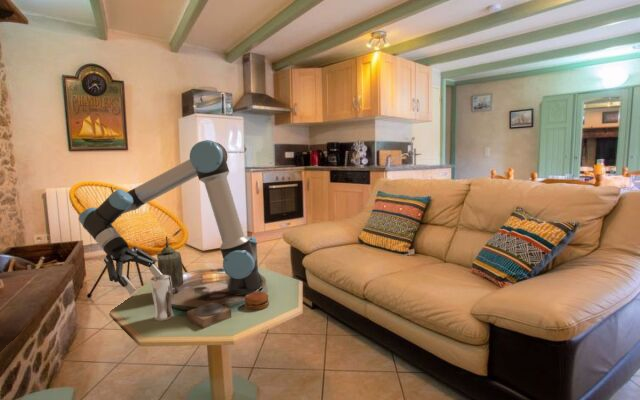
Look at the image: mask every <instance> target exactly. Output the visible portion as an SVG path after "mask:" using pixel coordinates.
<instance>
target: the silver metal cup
mask: <svg viewBox="0 0 640 400" xmlns="http://www.w3.org/2000/svg"><path fill="white" fill-rule="evenodd" d="M150 289H151V290H150V291H151V297H152V300H153V304H154V307H155V316H154V320H155V321H158V322H164V321H168V320H170V319H172V318H173V317H174V311H173V309H172V301H173V288H172V281H171V276H170V275H158V276H153V277H151V278H150Z"/></svg>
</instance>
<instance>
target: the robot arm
mask: <svg viewBox="0 0 640 400" xmlns="http://www.w3.org/2000/svg"><path fill="white" fill-rule="evenodd" d="M227 161H228V153H227V150H226V148H225V147H224V146H223V145H222V144H221V143H218V142H216V141H213V140H211V139H209V140H207V139H205V140H201V141H198V142H197V143H195V144H194V145H193V146H192V147H191V148H190V152H189V159H187V160H185V161H183V162H181V163H180V164H178V165H176V166H174V167H172V168H170V169H168V170H167V171H164V172H162V173H161V174H159V175H157V176H155V177H152V178H151V179H149V180H147V181H146V182H144V183H142V184H140V185H138V186H136V187H134V188H132V189H130V190H128V191H125V190H123V189H120V188H119V189H116V190H114V191H113V192H112V193H111V194H109V195H108V197H107V198H106V199H105V200H104V201H103V202H102V203H101V204H100V205H99V206H98V207H95V206H93V207H88V208H87V209H85V210H83V211H82V212H81V213H80V214H79V216H78V221H79V222H80V224H81V225H82V228H83V229H84V230H86V232H87V233H88V234H89V235H90V236H91V237H92V238H93V239H94V241H95V242H96V243H97V245H98V246H100V248H101V249H102V250H103V252H104V253H105V254H106V256H105V257H104V259H103V261H104V263H105V265H106V269H107V275H108V279H109V281H110V282H114V283H119V284H120V285H121V287H122V288H125V290H126V291H127V292H128V293H129V295H133V294H134V293H135V291H137V288H136V286H135V285H134V284H133V283H132V282H131V281H130V280H129V278H128V277H127V276H126V275H125V274H124V275H123V269H124V268H123V267H124V265H125V264H126V263H130V262H131V263H137V264H139V265H142V266H145V267H148V270H149V272H150V273H152V275H153V277H155V276H158V275H163V274H162V273H161V272H160V271H159V268H158V265H156V263H157V262H158V260H157V258H155V257H153V256H152V255H150V254H148V253H146V252H145V251H143V250H142V249H140V248H139V246H136V245H135V246H134V247H132V248H130V247H129V244H128V242H127V241H126V239H124V238H123V237H122V235H121V234H120V233H119V231H118V230H117V229H116V228H115V227H114V225H113V223H114V222H116V220H118V219H119V218H120V217H121V216H122V215H124V214H126V213H128V212H131V211H135V210H137V209H139V208H141V207H142V206H144V205H145V204H147V203H149V202H151V201H153V200H155V199H157V198H158V197H160V196H163V195H165V194H167V193H168V192H170V191H172V190H174V189H175V188H177V187H179V186H182V185H183V184H186V183H187V182H189V181H190V180H192V179H195V178H196V177H197V178H198V180H199V181H200V182H202V183H204V186H205V190H206V193H207V196H208V199H209V204H210V207H211V209H212V212H213V217H214V219H215V223H216V225H217V229H218V233H219V235H220V238H221V244H220V246H219V249H220V253H221V256H222V258H223V260H222V268H223V271H224V273H225V274H226V275H227V276H229V278H228V281H227V282H228V283H227V287H226V288H227V292H228V293H229V294H231V295H234V296H236V295H237V296H246V295H247V294H250V293H252V292H254V291H256V290H257V289H259V288H260V287H261V286H262V285H263V286H264V281H263V280H262V277H261V274H260V272H259V264H258V242H257V238H256V237H255V236H245V234H244V231H243V227H242V224H241V220H240V217H239V214H238V211H237V210H238V209H237V208H236V205H235V204H236V203H235V201H234V197H233V195H232V191H231V187H230V183H229V180H228V175H229V174H230V169H229V166H228V163H227ZM114 261H115V262H114Z"/></svg>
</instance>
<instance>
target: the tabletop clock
mask: <svg viewBox="0 0 640 400" xmlns="http://www.w3.org/2000/svg"><path fill="white" fill-rule="evenodd" d="M165 242H166V243H165V247H163V248H162V250H161V251H160V252H157V253H156V256H157V257H156V259H157V267H158V268H159V271H160V272H161V273H162V274H163V275H170V276H171V281H172V289H174V292H175V293H176V294H178V293H179V291H180V289H178V288H180V287H181V286H183V285H184V275H183V274H184V273H183V261H182V255H181V252H179V251H177V250H175V249H174V248H173V246H172V247H171V246H169V239H168V236H165Z"/></svg>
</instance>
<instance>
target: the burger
mask: <svg viewBox="0 0 640 400" xmlns="http://www.w3.org/2000/svg"><path fill="white" fill-rule="evenodd" d="M244 301H245V302H244V308H245V309H246V308H247V310H263V309H266V308H267V307H268V306H269V305H270V301H269V294H268V292H264V291H258V292H253V293H250V294H247V295H244Z"/></svg>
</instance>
